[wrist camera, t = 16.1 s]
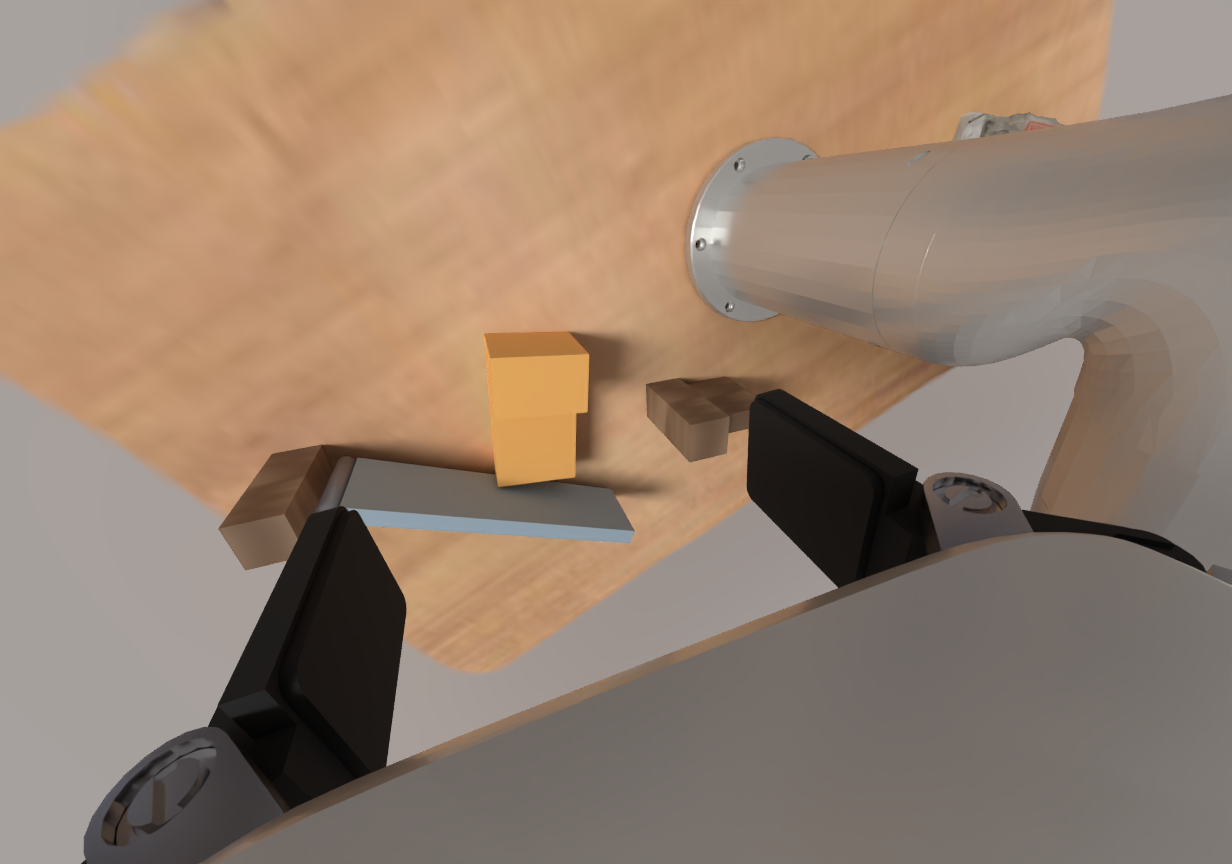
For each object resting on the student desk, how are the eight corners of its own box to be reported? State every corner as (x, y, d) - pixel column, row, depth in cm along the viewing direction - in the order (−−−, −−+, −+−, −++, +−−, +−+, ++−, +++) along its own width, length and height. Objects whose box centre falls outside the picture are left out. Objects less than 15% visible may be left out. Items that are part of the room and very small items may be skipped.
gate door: (336, 469, 30) (313, 522, 25) (337, 455, 30) (314, 505, 25) (606, 500, 39) (629, 543, 34) (611, 488, 39) (634, 531, 34)
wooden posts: (725, 369, 38) (784, 404, 31) (723, 400, 39) (779, 440, 33) (271, 454, 29) (218, 528, 22) (290, 490, 31) (245, 570, 24)
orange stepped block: (483, 332, 30) (490, 358, 25) (567, 330, 32) (589, 354, 27) (494, 467, 35) (501, 510, 30) (566, 458, 37) (584, 498, 32)
